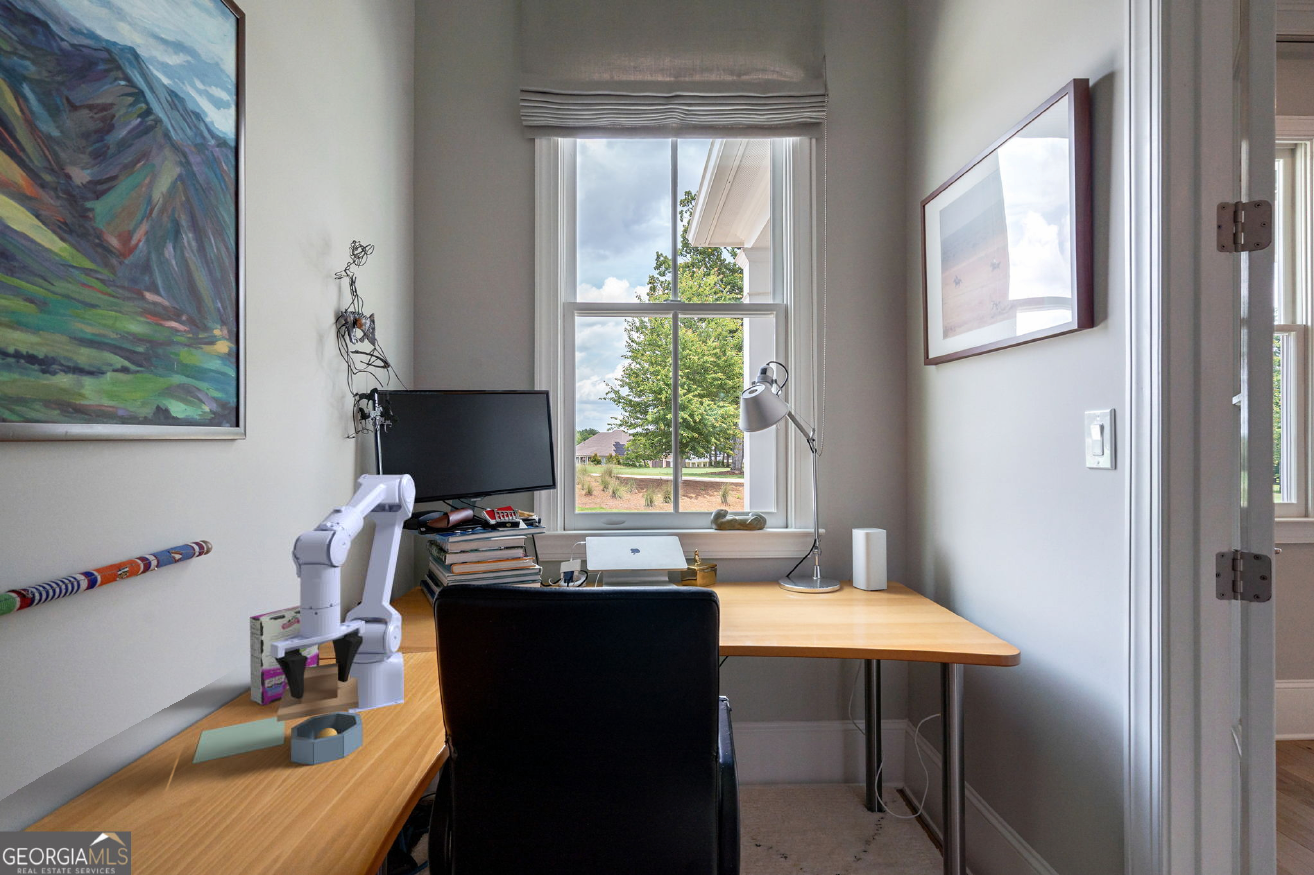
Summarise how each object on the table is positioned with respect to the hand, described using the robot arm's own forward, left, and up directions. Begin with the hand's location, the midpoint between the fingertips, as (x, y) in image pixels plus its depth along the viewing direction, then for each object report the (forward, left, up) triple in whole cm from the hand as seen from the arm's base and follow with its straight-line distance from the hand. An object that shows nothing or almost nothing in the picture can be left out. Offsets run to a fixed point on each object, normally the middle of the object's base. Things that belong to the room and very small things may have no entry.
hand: (320, 688), depth 99 cm
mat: (+11, -10, -10) cm, 18 cm away
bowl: (-1, +1, -10) cm, 10 cm away
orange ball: (-1, +1, -9) cm, 9 cm away
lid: (0, 0, -2) cm, 2 cm away
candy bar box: (+5, -29, -10) cm, 31 cm away
